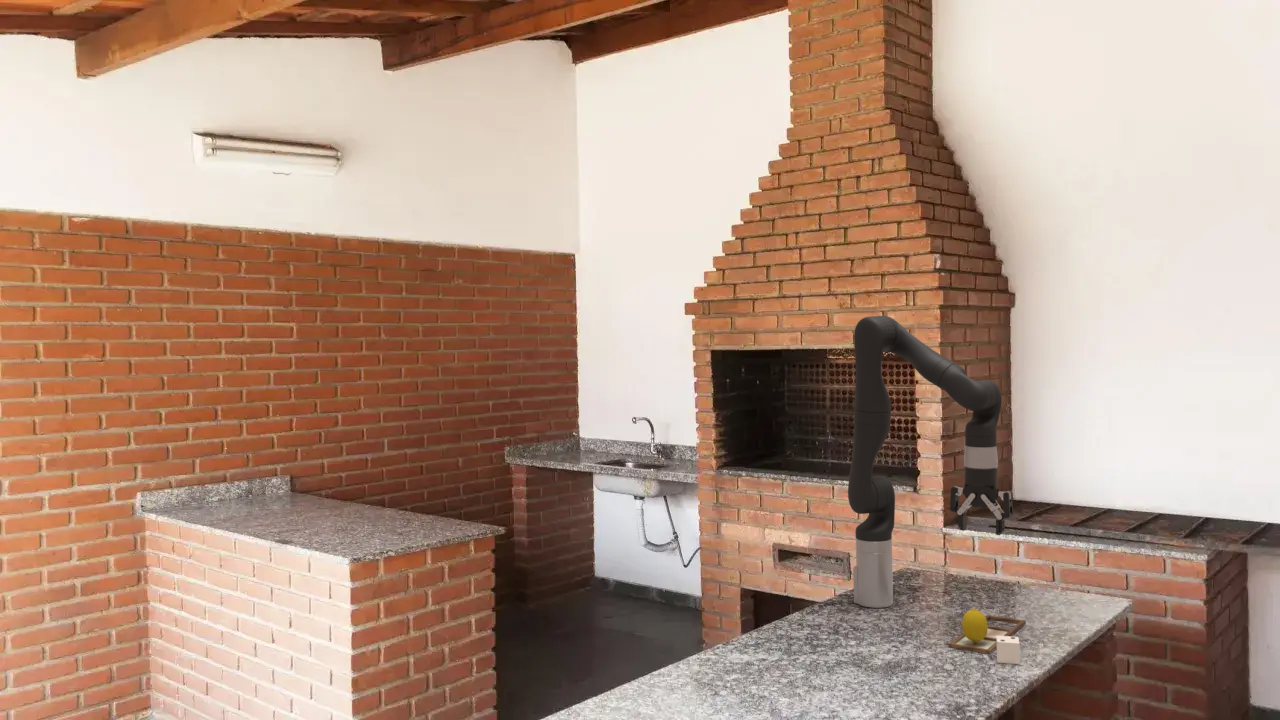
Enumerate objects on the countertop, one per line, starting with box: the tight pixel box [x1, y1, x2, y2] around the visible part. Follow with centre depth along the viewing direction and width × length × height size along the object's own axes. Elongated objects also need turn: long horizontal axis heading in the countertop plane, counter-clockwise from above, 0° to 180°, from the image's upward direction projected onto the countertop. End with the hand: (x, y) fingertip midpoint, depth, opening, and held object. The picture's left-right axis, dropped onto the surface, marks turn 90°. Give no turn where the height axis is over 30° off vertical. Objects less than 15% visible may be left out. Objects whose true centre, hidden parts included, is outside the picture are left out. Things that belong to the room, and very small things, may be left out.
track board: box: [948, 614, 1027, 655], centre depth 231 cm, size 9×26×1 cm, turn 142°
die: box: [996, 635, 1021, 665], centre depth 214 cm, size 4×4×5 cm
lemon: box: [961, 608, 989, 644], centre depth 225 cm, size 6×6×8 cm
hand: (981, 532), depth 236 cm, fingers open, 8 cm apart
